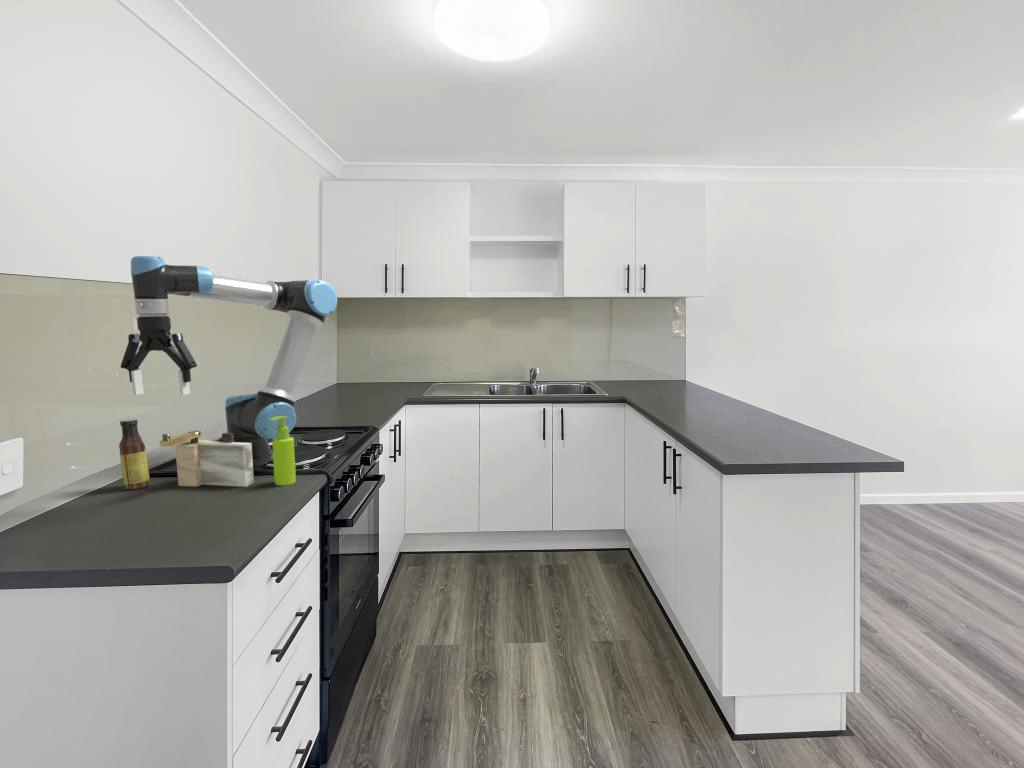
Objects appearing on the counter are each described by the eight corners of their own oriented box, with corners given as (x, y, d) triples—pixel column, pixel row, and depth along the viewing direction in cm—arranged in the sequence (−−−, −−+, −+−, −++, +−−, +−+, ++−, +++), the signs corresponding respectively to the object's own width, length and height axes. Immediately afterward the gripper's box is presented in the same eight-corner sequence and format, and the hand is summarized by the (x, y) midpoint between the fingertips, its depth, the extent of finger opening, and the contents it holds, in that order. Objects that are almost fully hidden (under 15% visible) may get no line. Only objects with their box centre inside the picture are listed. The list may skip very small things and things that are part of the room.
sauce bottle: (155, 484, 164) (149, 417, 162) (139, 491, 158) (132, 422, 156) (134, 483, 165) (128, 417, 163) (117, 490, 159) (111, 421, 156)
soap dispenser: (267, 484, 164) (263, 417, 161) (286, 478, 170) (283, 413, 167) (281, 487, 161) (277, 419, 158) (300, 481, 167) (296, 415, 165)
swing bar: (192, 435, 167) (192, 425, 166) (202, 436, 166) (201, 425, 166) (159, 446, 154) (158, 434, 153) (169, 446, 153) (168, 435, 153)
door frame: (197, 477, 171) (194, 430, 169) (258, 480, 168) (255, 432, 166) (178, 485, 163) (174, 436, 161) (241, 488, 160) (238, 438, 158)
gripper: (98, 316, 147) (108, 396, 150) (187, 315, 144) (195, 396, 147) (121, 315, 154) (130, 391, 157) (206, 314, 151) (213, 391, 155)
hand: (161, 394), depth 152 cm, fingers open, 13 cm apart
